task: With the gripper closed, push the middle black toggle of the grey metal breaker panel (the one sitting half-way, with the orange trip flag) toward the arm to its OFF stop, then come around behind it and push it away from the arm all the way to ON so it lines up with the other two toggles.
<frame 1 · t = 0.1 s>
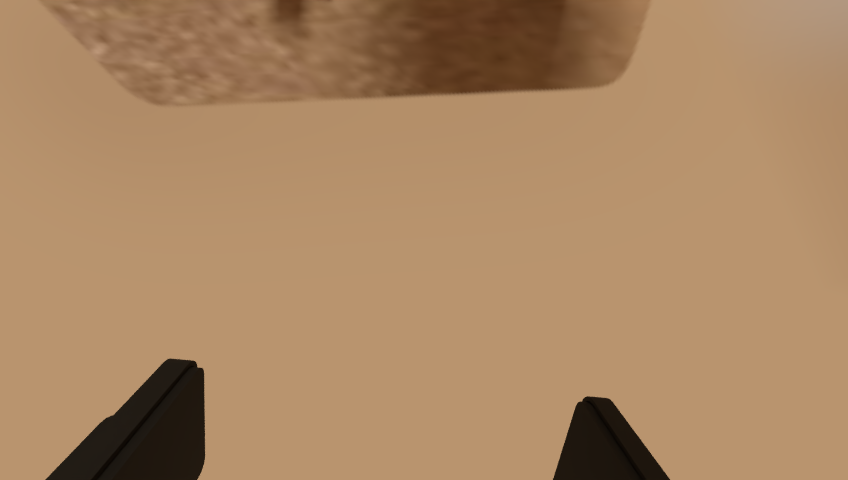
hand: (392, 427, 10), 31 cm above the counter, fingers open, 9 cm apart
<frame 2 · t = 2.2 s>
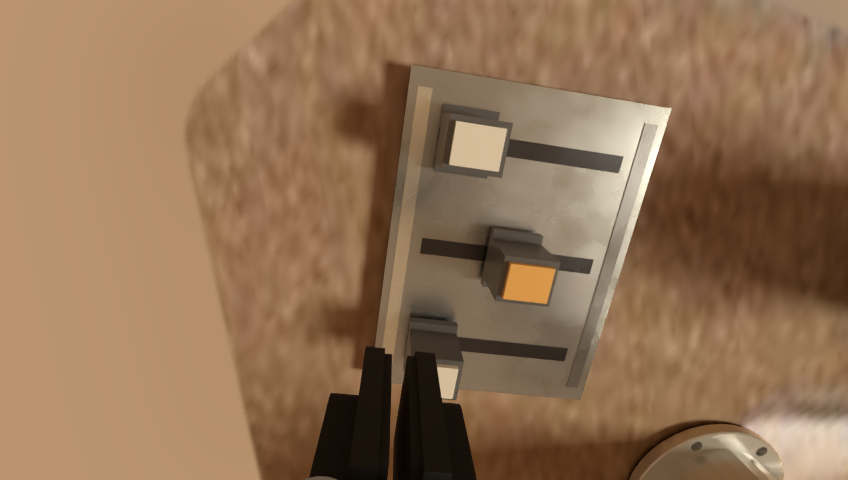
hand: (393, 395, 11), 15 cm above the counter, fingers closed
panel: (503, 250, 26), on the counter
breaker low: (470, 143, 21), point 4 cm above the counter, slide at 8.0 cm
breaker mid: (518, 270, 23), point 4 cm above the counter, slide at 4.0 cm
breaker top: (431, 361, 24), point 4 cm above the counter, slide at 8.0 cm
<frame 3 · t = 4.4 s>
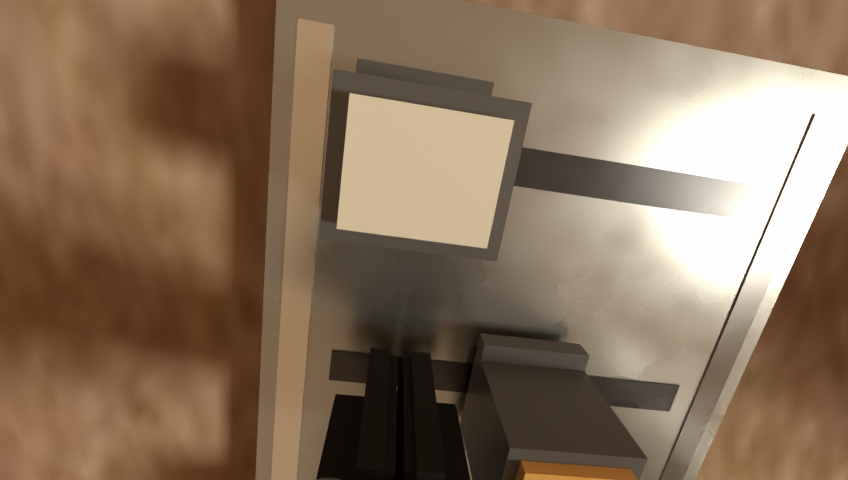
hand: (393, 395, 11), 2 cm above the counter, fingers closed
panel: (500, 359, 14), on the counter
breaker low: (417, 161, 8), point 4 cm above the counter, slide at 8.0 cm
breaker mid: (538, 441, 10), point 4 cm above the counter, slide at 3.9 cm, touching gripper
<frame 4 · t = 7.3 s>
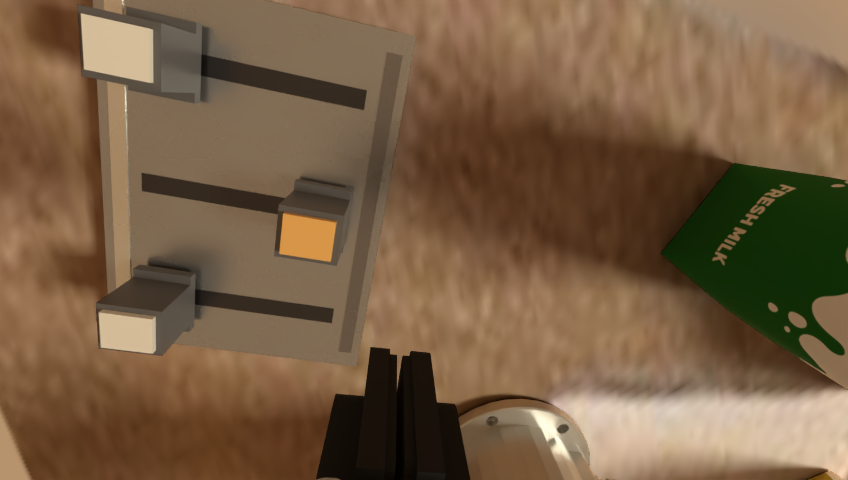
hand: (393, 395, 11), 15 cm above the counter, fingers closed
panel: (255, 195, 23), on the counter
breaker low: (144, 54, 17), point 4 cm above the counter, slide at 8.0 cm
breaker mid: (314, 225, 21), point 4 cm above the counter, slide at -0.1 cm
milk carton: (730, 234, 27), on the counter
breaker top: (148, 313, 22), point 4 cm above the counter, slide at 8.0 cm
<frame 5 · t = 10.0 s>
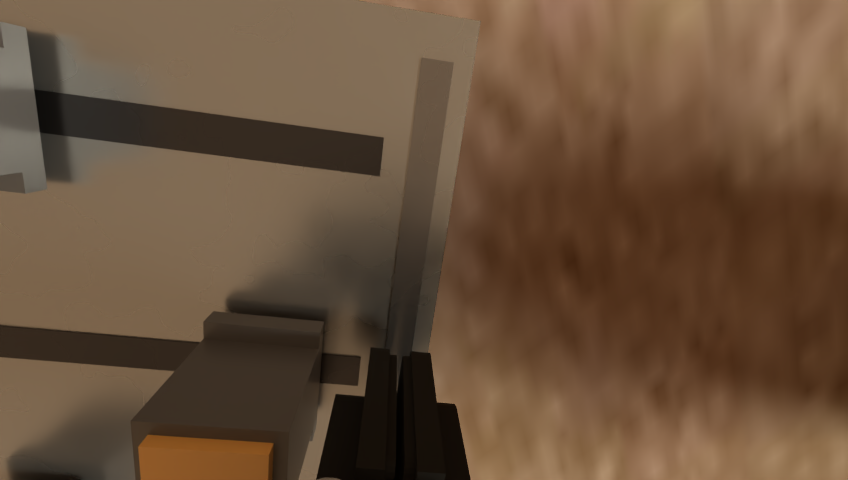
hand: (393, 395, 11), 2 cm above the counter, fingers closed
panel: (191, 334, 13), on the counter
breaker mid: (242, 420, 10), point 4 cm above the counter, slide at 1.1 cm, touching gripper
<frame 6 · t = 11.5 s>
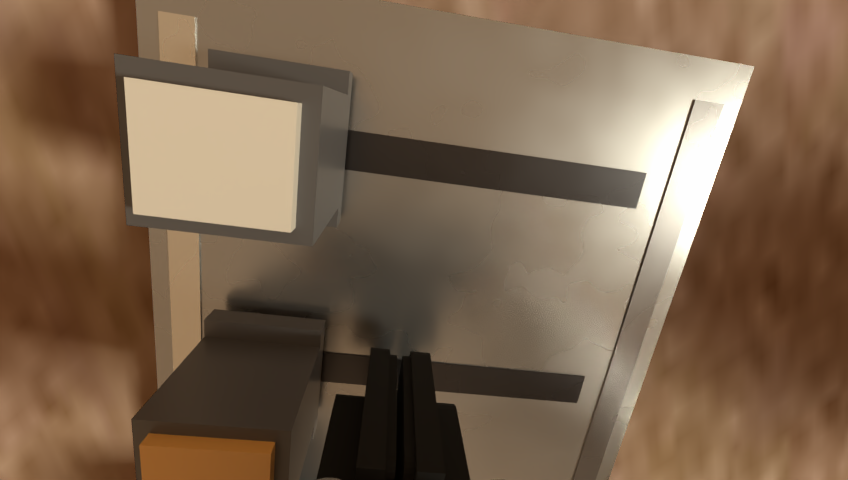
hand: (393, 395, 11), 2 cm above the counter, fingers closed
panel: (410, 352, 14), on the counter
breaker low: (256, 149, 8), point 4 cm above the counter, slide at 8.0 cm
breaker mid: (243, 418, 10), point 4 cm above the counter, slide at 8.2 cm, touching gripper
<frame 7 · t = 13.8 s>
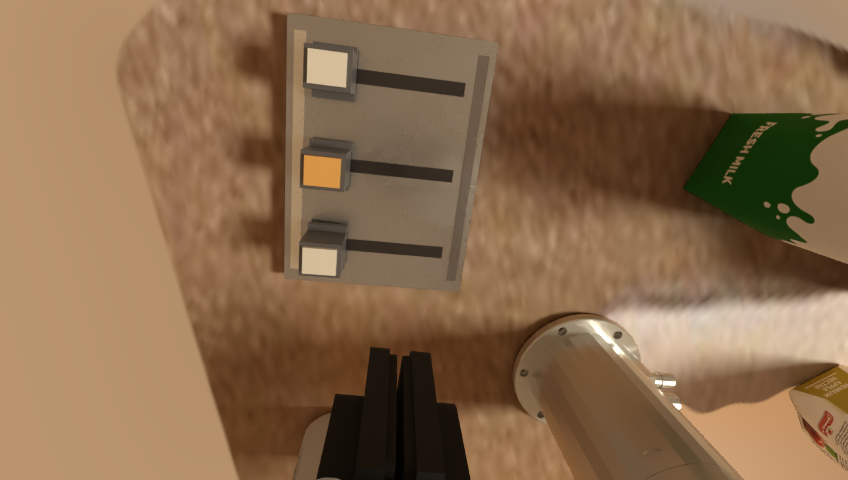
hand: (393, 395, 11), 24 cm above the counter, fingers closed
energy drink can: (336, 430, 41), on the counter
panel: (384, 166, 33), on the counter
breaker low: (331, 70, 27), point 4 cm above the counter, slide at 8.0 cm
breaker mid: (326, 167, 29), point 4 cm above the counter, slide at 8.1 cm
milk carton: (735, 169, 35), on the counter
juice carton: (819, 396, 44), on the counter
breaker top: (323, 252, 31), point 4 cm above the counter, slide at 8.0 cm
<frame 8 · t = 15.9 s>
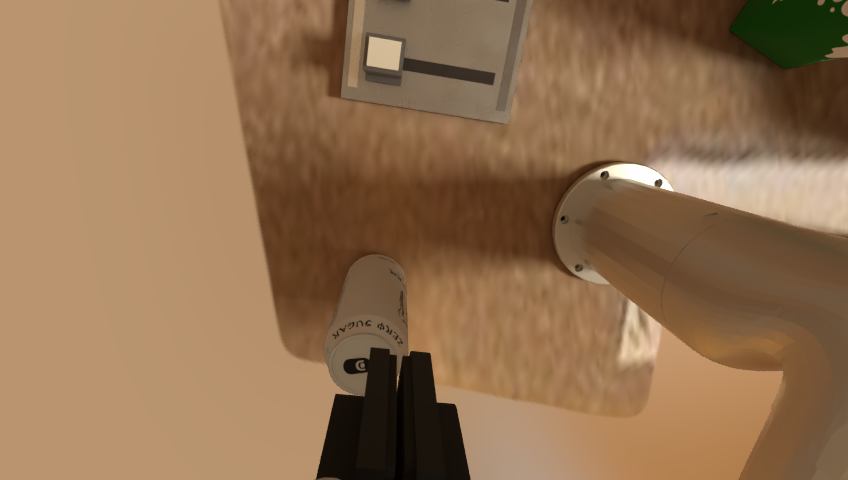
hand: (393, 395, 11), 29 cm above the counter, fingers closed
energy drink can: (376, 277, 42), on the counter
milk carton: (780, 14, 36), on the counter
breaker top: (384, 57, 32), point 4 cm above the counter, slide at 8.0 cm
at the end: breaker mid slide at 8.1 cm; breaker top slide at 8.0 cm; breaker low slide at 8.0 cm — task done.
